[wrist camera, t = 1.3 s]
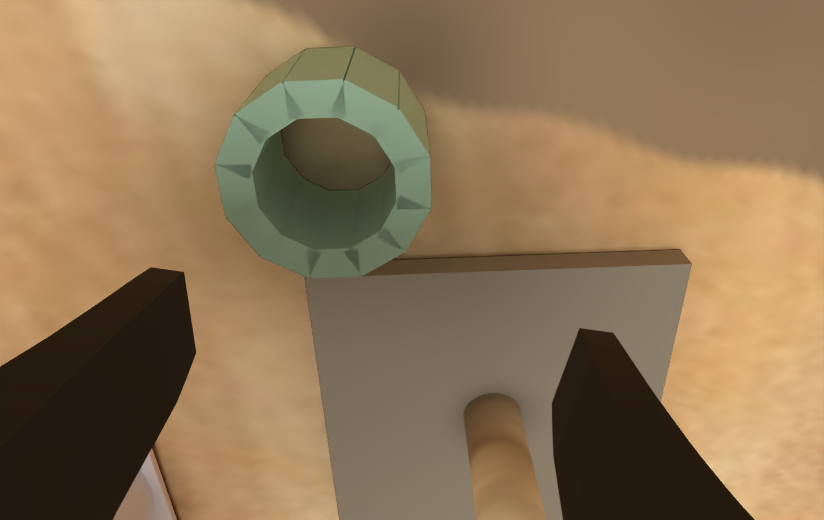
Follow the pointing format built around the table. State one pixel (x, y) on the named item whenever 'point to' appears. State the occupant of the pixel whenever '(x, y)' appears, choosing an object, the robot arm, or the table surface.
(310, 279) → the grey board
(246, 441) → the table surface
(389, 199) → the green ring
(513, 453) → the beech post
